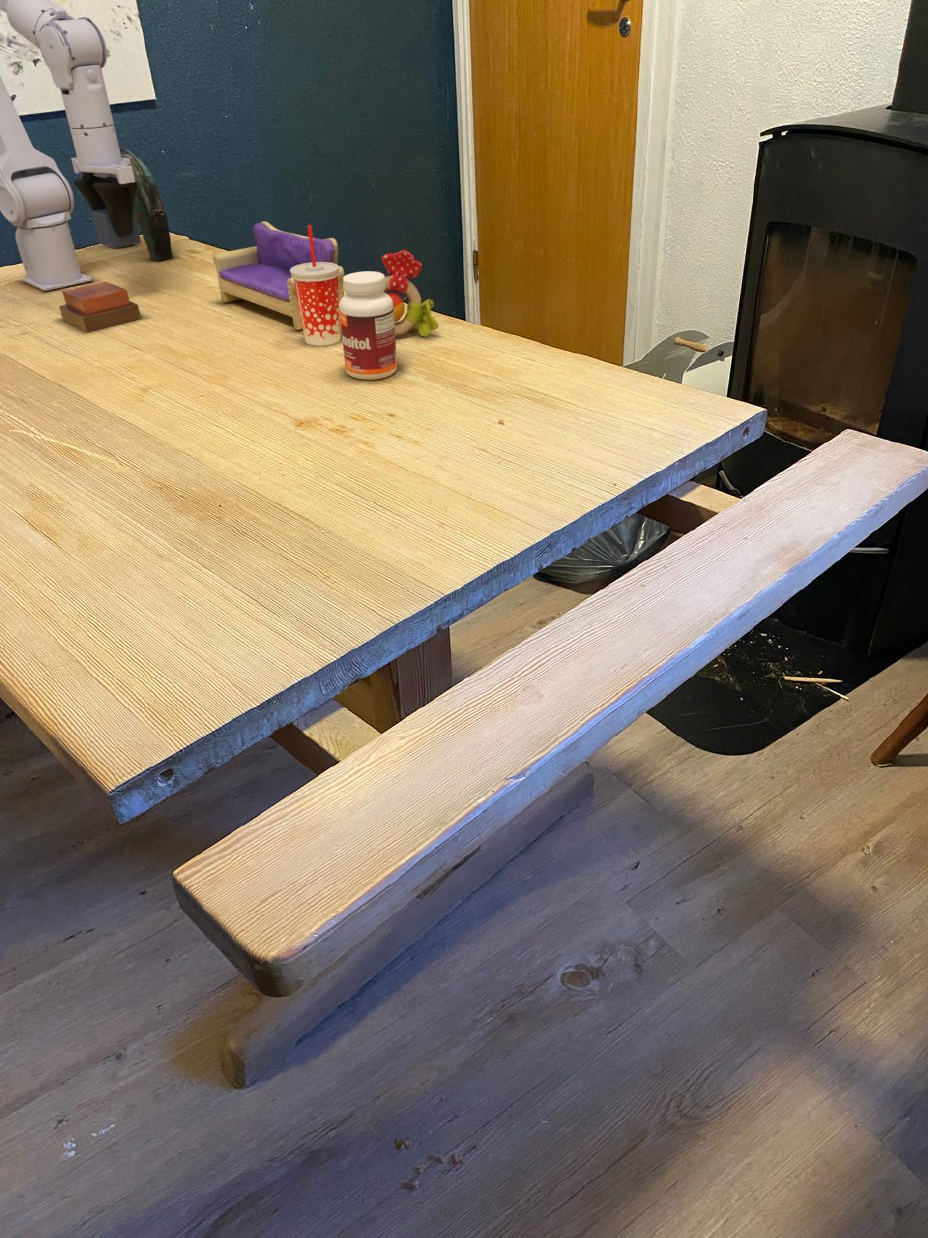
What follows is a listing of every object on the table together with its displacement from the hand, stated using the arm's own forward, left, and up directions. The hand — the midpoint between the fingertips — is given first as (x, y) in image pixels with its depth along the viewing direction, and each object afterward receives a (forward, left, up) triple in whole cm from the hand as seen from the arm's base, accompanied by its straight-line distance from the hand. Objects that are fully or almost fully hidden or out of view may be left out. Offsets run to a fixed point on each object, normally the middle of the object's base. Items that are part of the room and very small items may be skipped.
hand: (117, 232), depth 130 cm
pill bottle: (+50, +5, -10) cm, 52 cm away
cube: (0, 0, -1) cm, 1 cm away
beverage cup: (+36, +8, -10) cm, 39 cm away
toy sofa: (+21, +12, -10) cm, 27 cm away
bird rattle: (+43, +16, -10) cm, 47 cm away
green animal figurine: (-27, +15, -10) cm, 32 cm away
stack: (+5, -8, -9) cm, 13 cm away
